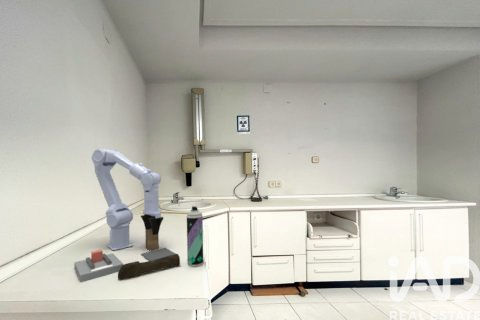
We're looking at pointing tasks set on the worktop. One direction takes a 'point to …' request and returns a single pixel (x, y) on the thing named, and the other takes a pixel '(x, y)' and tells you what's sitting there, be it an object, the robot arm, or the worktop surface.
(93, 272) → the panel
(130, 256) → the worktop surface
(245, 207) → the worktop surface
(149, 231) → the tan wooden post
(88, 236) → the worktop surface
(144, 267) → the hand tool
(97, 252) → the lever
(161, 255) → the mat
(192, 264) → the spray can
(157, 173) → the robot arm
